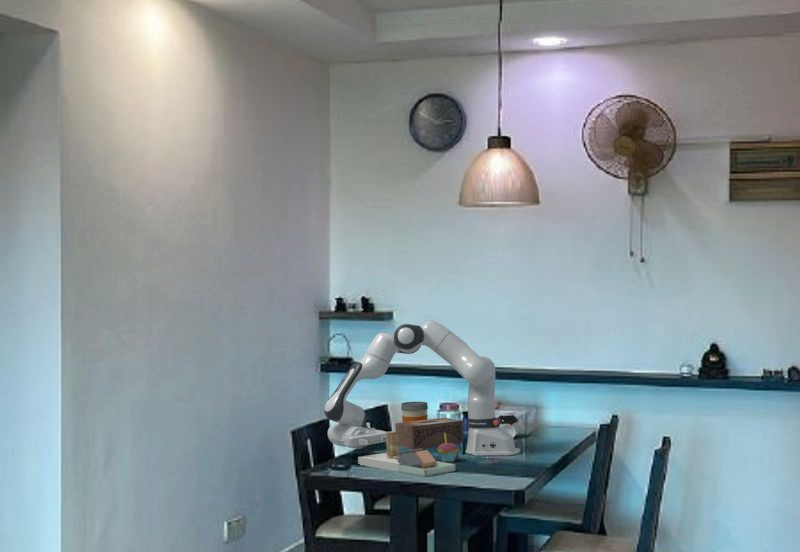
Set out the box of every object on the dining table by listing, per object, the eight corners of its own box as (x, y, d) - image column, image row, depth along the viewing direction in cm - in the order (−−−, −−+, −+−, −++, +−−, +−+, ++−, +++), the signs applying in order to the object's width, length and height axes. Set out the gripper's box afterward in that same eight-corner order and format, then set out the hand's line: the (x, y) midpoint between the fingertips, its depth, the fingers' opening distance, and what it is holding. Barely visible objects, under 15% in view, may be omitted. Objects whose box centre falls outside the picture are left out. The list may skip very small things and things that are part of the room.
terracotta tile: (412, 457, 399) (415, 451, 398) (424, 455, 403) (427, 449, 401) (421, 468, 395) (424, 462, 394) (432, 466, 399) (435, 460, 398)
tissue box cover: (413, 449, 446) (412, 426, 446) (396, 445, 458) (395, 423, 458) (463, 443, 459) (462, 420, 459) (445, 439, 472) (444, 417, 472)
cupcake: (452, 463, 408) (451, 432, 408) (433, 461, 413) (432, 431, 413) (462, 459, 416) (461, 429, 416) (444, 458, 420) (443, 428, 420)
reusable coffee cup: (410, 433, 495) (409, 401, 495) (433, 434, 489) (432, 401, 489) (396, 436, 484) (395, 404, 484) (420, 437, 478) (419, 405, 478)
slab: (358, 464, 412) (358, 457, 412) (387, 459, 421) (387, 452, 422) (399, 472, 393) (398, 463, 393) (429, 466, 402) (428, 458, 402)
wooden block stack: (378, 459, 405) (377, 433, 405) (402, 455, 412) (401, 429, 412) (399, 463, 395) (398, 436, 395) (423, 458, 403) (422, 432, 403)
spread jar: (511, 435, 476) (510, 410, 476) (526, 438, 467) (525, 412, 467) (489, 438, 470) (489, 412, 470) (505, 441, 460) (504, 414, 460)
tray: (399, 472, 393) (398, 465, 393) (429, 466, 402) (428, 460, 402) (425, 476, 381) (425, 469, 381) (455, 471, 391) (455, 464, 391)
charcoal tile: (398, 459, 394) (401, 454, 393) (410, 457, 398) (413, 452, 397) (406, 471, 391) (409, 465, 389) (418, 469, 395) (421, 463, 393)
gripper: (335, 432, 418) (357, 436, 407) (375, 427, 431) (397, 430, 420) (336, 448, 418) (357, 452, 407) (376, 442, 431) (397, 446, 420)
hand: (378, 441), depth 414 cm, fingers open, 8 cm apart
